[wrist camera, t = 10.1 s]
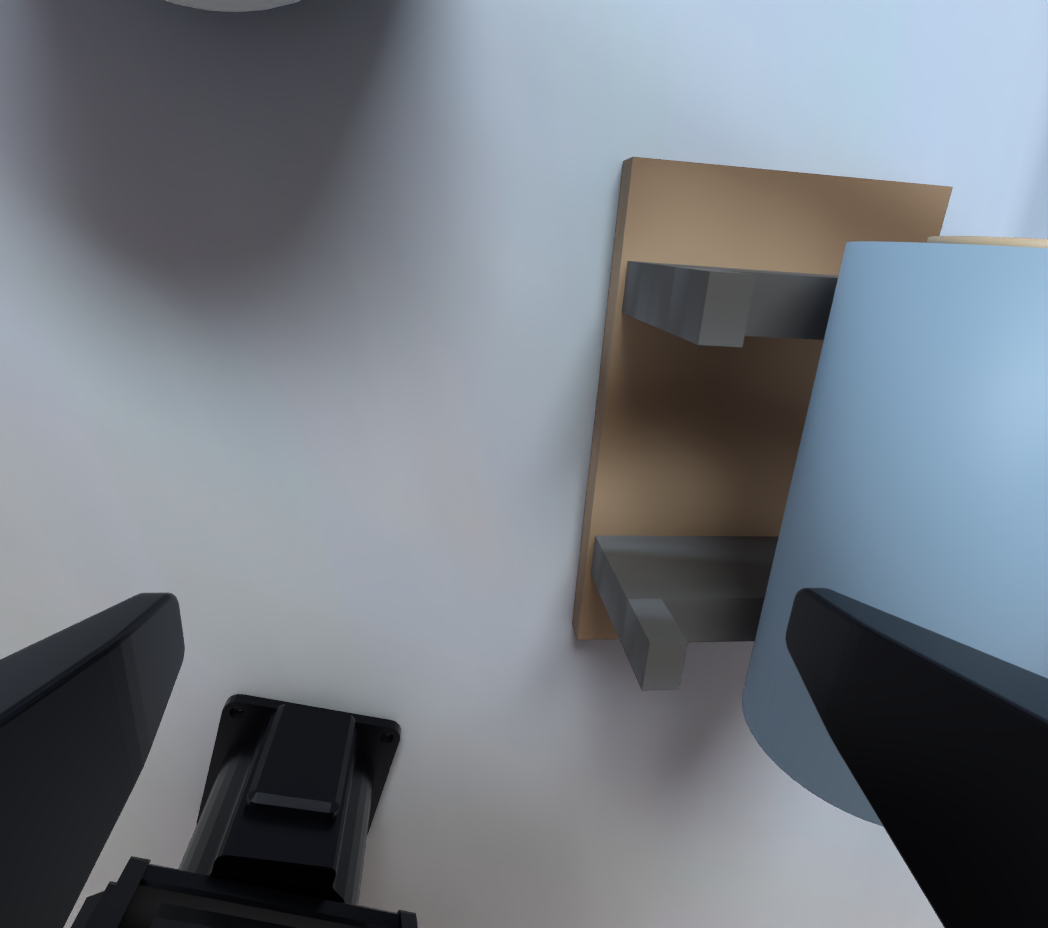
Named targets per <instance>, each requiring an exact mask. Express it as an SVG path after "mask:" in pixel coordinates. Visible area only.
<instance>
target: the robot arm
mask: <svg viewBox="0 0 1048 928" xmlns="http://www.w3.org/2000/svg"><path fill="white" fill-rule="evenodd" d="M785 639H786V645H787V649H788V652H789V654H790V656H791V658H792V660H793V662H794V664H795V666H796V668H797V670H798V672H799V674H800V677H801V679H802V681H803V683H804V685H805V687H806V689H807V691H808V693H809V695H810V697H811V700H812V702H813V704H814V706H815V708H816V710H817V712H818V714H819V716H820V718H821V720H822V722H823V724H824V726H825V728H826V730H827V732H828V734H829V736H830V738H831V740H832V741H833V743H834V745H835V747H836V748H837V750H838V752H839V754H840V755H841V757H842V759H843V760H844V762H845V764H846V765H847V767H848V769H849V770H850V772H851V774H852V775H853V777H854V779H855V780H856V782H857V783H858V785H859V787H860V788H861V790H862V792H863V793H864V795H865V797H866V798H867V800H868V802H869V803H870V805H871V807H872V808H873V810H874V812H875V813H876V815H877V817H878V818H879V820H880V822H881V823H882V825H883V827H884V828H885V830H886V832H887V833H888V835H889V837H890V838H891V840H892V842H893V843H894V845H895V846H896V848H897V850H898V851H899V853H900V855H901V856H902V858H903V860H904V861H905V863H906V865H907V866H908V868H909V870H910V871H911V873H912V875H913V876H914V878H915V880H916V881H917V883H918V885H919V886H920V888H921V890H922V891H923V893H924V895H925V896H926V898H927V900H928V901H929V903H930V904H931V906H932V908H933V909H934V911H935V913H936V914H937V916H938V918H939V919H940V921H941V923H942V924H943V926H944V928H1048V678H1046V677H1043V676H1041V675H1038V674H1036V673H1033V672H1031V671H1028V670H1026V669H1024V668H1021V667H1019V666H1016V665H1014V664H1011V663H1009V662H1006V661H1004V660H1002V659H999V658H997V657H994V656H992V655H989V654H987V653H984V652H982V651H980V650H977V649H975V648H972V647H970V646H967V645H965V644H962V643H960V642H958V641H955V640H953V639H950V638H948V637H945V636H943V635H941V634H938V633H936V632H933V631H931V630H928V629H926V628H923V627H921V626H919V625H916V624H914V623H911V622H909V621H906V620H904V619H901V618H899V617H897V616H894V615H892V614H889V613H887V612H884V611H882V610H879V609H877V608H875V607H872V606H870V605H867V604H865V603H862V602H860V601H858V600H855V599H853V598H850V597H848V596H845V595H843V594H840V593H838V592H836V591H833V590H831V589H828V588H802V589H800V590H799V591H798V592H797V593H796V595H795V598H794V601H793V605H792V609H791V613H790V617H789V621H788V625H787V629H786V637H785ZM184 651H185V645H184V637H183V630H182V623H181V616H180V609H179V603H178V600H177V598H176V596H175V595H173V594H172V593H140V594H138V595H136V596H133V597H131V598H129V599H127V600H125V601H123V602H121V603H119V604H117V605H114V606H112V607H110V608H108V609H106V610H104V611H102V612H100V613H98V614H96V615H93V616H91V617H89V618H87V619H85V620H83V621H81V622H79V623H77V624H74V625H72V626H70V627H68V628H66V629H64V630H62V631H60V632H58V633H56V634H53V635H51V636H49V637H47V638H45V639H43V640H41V641H39V642H37V643H34V644H32V645H30V646H28V647H26V648H24V649H22V650H20V651H18V652H15V653H13V654H11V655H9V656H7V657H5V658H3V659H1V660H0V928H63V927H64V925H65V923H66V921H67V919H68V917H69V915H70V913H71V911H72V909H73V907H74V905H75V903H76V901H77V899H78V897H79V895H80V893H81V891H82V889H83V887H84V885H85V883H86V881H87V879H88V877H89V875H90V873H91V871H92V869H93V867H94V865H95V863H96V861H97V859H98V857H99V855H100V853H101V851H102V849H103V847H104V845H105V843H106V841H107V839H108V837H109V835H110V833H111V831H112V830H113V828H114V826H115V824H116V822H117V820H118V818H119V816H120V814H121V812H122V810H123V808H124V806H125V804H126V802H127V800H128V798H129V796H130V794H131V792H132V790H133V788H134V786H135V784H136V781H137V779H138V777H139V775H140V773H141V771H142V769H143V767H144V764H145V762H146V759H147V757H148V754H149V752H150V749H151V746H152V744H153V741H154V738H155V736H156V733H157V730H158V727H159V725H160V722H161V719H162V717H163V714H164V711H165V708H166V706H167V703H168V700H169V698H170V695H171V692H172V690H173V687H174V684H175V681H176V679H177V676H178V673H179V671H180V668H181V665H182V662H183V658H184ZM234 707H239V708H241V709H242V710H243V711H238V710H236V709H235V708H234ZM400 730H401V728H400V726H399V724H398V723H396V722H395V721H392V720H387V719H381V718H375V717H370V716H364V715H358V714H352V713H347V712H341V711H335V710H330V709H324V708H318V707H312V706H307V705H301V704H295V703H289V702H284V701H278V700H272V699H266V698H261V697H255V696H249V695H243V694H236V695H233V696H231V697H230V698H229V699H228V700H227V702H226V704H225V706H224V708H223V710H222V715H221V719H220V723H219V728H218V732H217V736H216V741H215V745H214V750H213V754H212V758H211V763H210V767H209V771H208V776H207V780H206V784H205V789H204V793H203V797H202V802H201V806H200V811H199V815H198V819H197V826H196V829H195V831H194V833H193V836H192V838H191V841H190V843H189V845H188V848H187V850H186V853H185V855H184V857H183V860H182V862H181V865H180V867H179V869H173V868H168V867H163V866H158V865H153V864H149V863H150V860H148V859H143V858H138V857H133V856H131V858H130V859H129V861H128V863H127V865H126V867H125V869H124V870H123V872H122V874H121V876H120V878H119V880H118V881H117V883H116V882H111V881H110V882H109V884H108V886H107V887H106V889H105V891H103V892H100V893H98V894H95V895H92V896H89V897H87V898H86V900H85V902H84V904H83V906H82V908H81V910H80V911H79V913H78V915H77V917H76V919H75V921H74V923H73V924H72V926H71V928H418V926H417V918H416V913H412V912H407V911H402V910H399V911H398V912H397V913H394V912H389V911H384V910H379V909H374V908H369V907H364V906H359V905H358V902H359V894H360V886H361V878H362V870H363V862H364V854H365V846H366V838H367V834H368V832H369V829H370V826H371V823H372V820H373V817H374V814H375V811H376V808H377V805H378V802H379V799H380V796H381V793H382V791H383V788H384V785H385V782H386V779H387V776H388V773H389V770H390V767H391V764H392V761H393V758H394V755H395V752H396V749H397V747H398V744H399V741H400ZM384 733H390V734H391V735H384Z"/></svg>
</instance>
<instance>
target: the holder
mask: <svg viewBox="0 0 1048 928" xmlns="http://www.w3.org/2000/svg"><path fill="white" fill-rule="evenodd" d="M952 188H953V187H948V186H937V185H926V184H916V183H905V182H895V181H884V180H873V179H863V178H852V177H841V176H831V175H820V174H810V173H799V172H788V171H778V170H767V169H756V168H746V167H735V166H725V165H714V164H703V163H693V162H682V161H671V160H661V159H650V158H640V157H632V158H629V159H627V160H624V161H623V168H622V177H621V186H620V196H619V205H618V214H617V223H616V232H615V241H614V250H613V259H612V268H611V277H610V286H609V295H608V304H607V313H606V322H605V331H604V340H603V349H602V358H601V368H600V377H599V386H598V395H597V404H596V413H595V422H594V431H593V440H592V449H591V458H590V467H589V476H588V485H587V494H586V503H585V512H584V521H583V530H582V540H581V549H580V558H579V567H578V576H577V585H576V594H575V603H574V612H573V621H572V625H573V628H574V631H575V634H576V637H577V640H592V639H620V641H621V644H622V646H623V648H624V651H625V653H626V655H627V657H628V660H629V662H630V664H631V666H632V669H633V671H634V673H635V676H636V678H637V680H638V682H639V685H640V687H641V689H642V690H674V689H679V685H680V679H681V674H682V669H683V663H684V658H685V652H686V647H687V642H726V641H755V638H756V633H757V629H758V625H759V620H760V616H761V612H762V607H763V603H764V599H765V594H766V590H767V585H768V581H769V577H770V572H771V568H772V564H773V559H774V555H775V551H776V546H777V542H778V538H779V533H780V529H781V524H782V520H783V516H784V511H785V507H786V503H787V498H788V494H789V490H790V485H791V481H792V477H793V472H794V468H795V463H796V459H797V455H798V450H799V446H800V442H801V437H802V433H803V429H804V424H805V420H806V416H807V411H808V407H809V402H810V398H811V394H812V389H813V385H814V381H815V376H816V372H817V368H818V363H819V359H820V355H821V350H822V346H823V342H824V337H825V333H826V328H827V324H828V320H829V315H830V311H831V307H832V302H833V298H834V294H835V289H836V285H837V281H838V276H839V272H840V267H841V263H842V259H843V254H844V250H845V246H846V242H858V241H877V242H919V243H927V240H928V237H932V236H939V235H940V231H941V228H942V224H943V221H944V217H945V213H946V210H947V206H948V203H949V199H950V195H951V192H952Z"/></svg>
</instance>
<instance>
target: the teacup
mask: <svg viewBox="0 0 1048 928" xmlns="http://www.w3.org/2000/svg"><path fill="white" fill-rule="evenodd" d="M165 1H168V2H171V3H174V4H178V5H182V6H187V7H192V8H197V9H202V10H211V11H222V12H246V11H260V10H267V9H271V8H275V7H280V6H284V5H288V4H292V3H296V2H299V1H301V0H165Z"/></svg>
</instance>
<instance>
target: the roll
mask: <svg viewBox="0 0 1048 928" xmlns="http://www.w3.org/2000/svg"><path fill="white" fill-rule="evenodd" d="M802 588H828V589H831V590H833V591H836V592H838V593H840V594H843V595H845V596H848V597H850V598H853V599H855V600H858V601H860V602H862V603H865V604H867V605H870V606H872V607H875V608H877V609H879V610H882V611H884V612H887V613H889V614H892V615H894V616H897V617H899V618H901V619H904V620H906V621H909V622H911V623H914V624H916V625H919V626H921V627H923V628H926V629H928V630H931V631H933V632H936V633H938V634H941V635H943V636H945V637H948V638H950V639H953V640H955V641H958V642H960V643H962V644H965V645H967V646H970V647H972V648H975V649H977V650H980V651H982V652H984V653H987V654H989V655H992V656H994V657H997V658H999V659H1002V660H1004V661H1006V662H1009V663H1011V664H1014V665H1016V666H1019V667H1021V668H1024V669H1026V670H1028V671H1031V672H1033V673H1036V674H1038V675H1041V676H1043V677H1046V678H1048V239H1032V238H1010V237H980V236H932V237H928V240H927V243H919V242H877V241H858V242H846V246H845V250H844V254H843V259H842V263H841V267H840V272H839V276H838V281H837V285H836V289H835V294H834V298H833V302H832V307H831V311H830V315H829V320H828V324H827V328H826V333H825V337H824V342H823V346H822V350H821V355H820V359H819V363H818V368H817V372H816V376H815V381H814V385H813V389H812V394H811V398H810V402H809V407H808V411H807V416H806V420H805V424H804V429H803V433H802V437H801V442H800V446H799V450H798V455H797V459H796V463H795V468H794V472H793V477H792V481H791V485H790V490H789V494H788V498H787V503H786V507H785V511H784V516H783V520H782V524H781V529H780V533H779V538H778V542H777V546H776V551H775V555H774V559H773V564H772V568H771V572H770V577H769V581H768V585H767V590H766V594H765V599H764V603H763V607H762V612H761V616H760V620H759V625H758V629H757V633H756V638H755V642H754V646H753V651H752V655H751V660H750V664H749V668H748V673H747V677H746V681H745V686H744V690H743V696H742V706H743V713H744V716H745V719H746V722H747V724H748V727H749V729H750V731H751V733H752V734H753V736H754V738H755V739H756V741H757V742H758V744H759V745H760V746H761V748H762V749H763V750H764V751H765V752H766V754H767V755H768V756H769V757H770V758H771V759H772V760H773V761H774V762H775V763H776V764H777V765H778V766H779V767H780V768H781V769H782V770H783V771H784V772H785V773H786V774H788V775H789V776H790V777H791V778H792V779H793V780H795V781H796V782H797V783H799V784H800V785H802V786H803V787H804V788H806V789H807V790H808V791H810V792H811V793H813V794H815V795H816V796H818V797H820V798H821V799H823V800H824V801H826V802H828V803H830V804H832V805H833V806H835V807H837V808H839V809H841V810H843V811H845V812H847V813H849V814H852V815H854V816H856V817H859V818H861V819H863V820H866V821H869V822H872V823H875V824H878V825H881V826H883V825H882V823H881V822H880V820H879V818H878V817H877V815H876V813H875V812H874V810H873V808H872V807H871V805H870V803H869V802H868V800H867V798H866V797H865V795H864V793H863V792H862V790H861V788H860V787H859V785H858V783H857V782H856V780H855V779H854V777H853V775H852V774H851V772H850V770H849V769H848V767H847V765H846V764H845V762H844V760H843V759H842V757H841V755H840V754H839V752H838V750H837V748H836V747H835V745H834V743H833V741H832V740H831V738H830V736H829V734H828V732H827V730H826V728H825V726H824V724H823V722H822V720H821V718H820V716H819V714H818V712H817V710H816V708H815V706H814V704H813V702H812V700H811V697H810V695H809V693H808V691H807V689H806V687H805V685H804V683H803V681H802V679H801V677H800V674H799V672H798V670H797V668H796V666H795V664H794V662H793V660H792V658H791V656H790V654H789V652H788V649H787V645H786V639H785V637H786V629H787V625H788V621H789V617H790V613H791V609H792V605H793V601H794V598H795V595H796V593H797V592H798V591H799V590H800V589H802Z"/></svg>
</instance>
